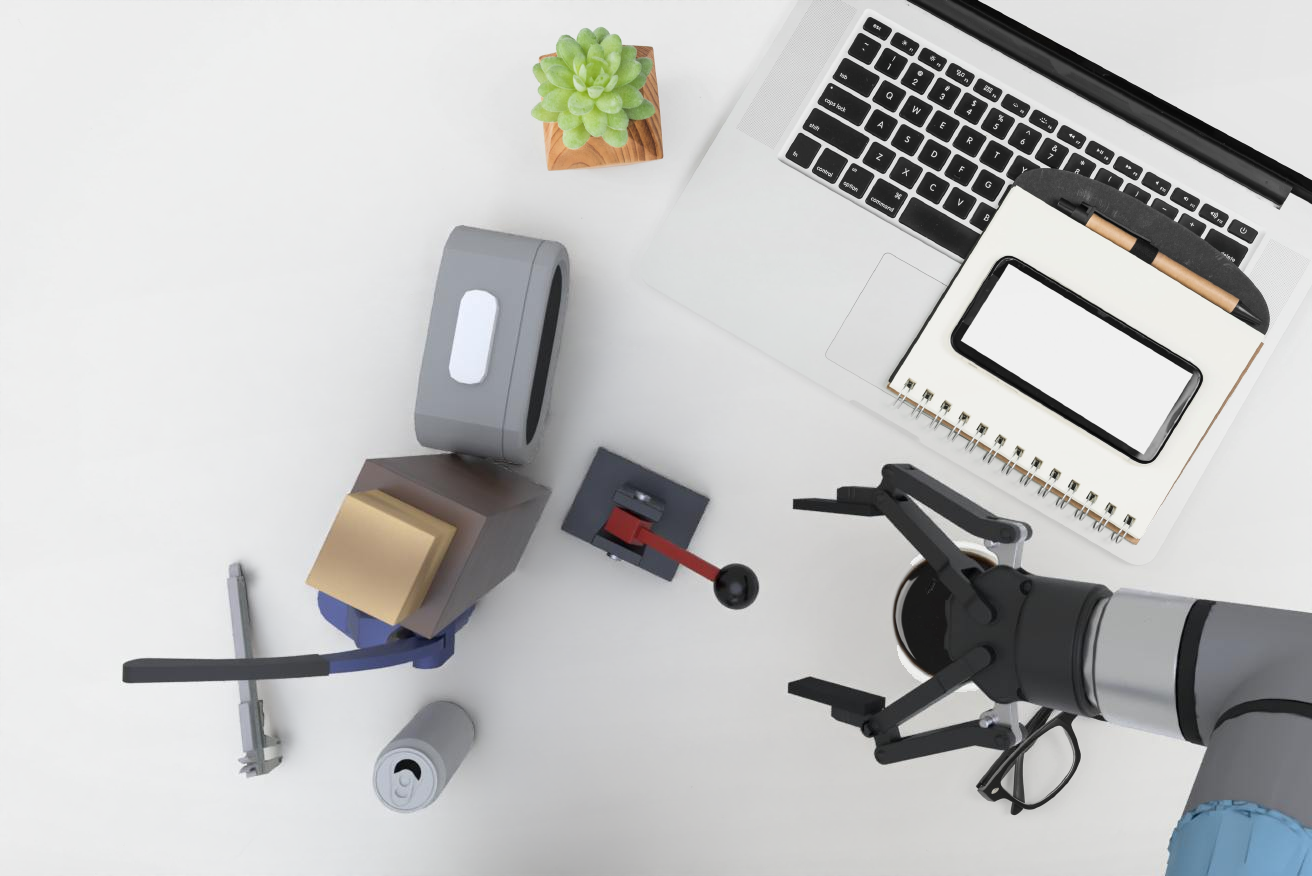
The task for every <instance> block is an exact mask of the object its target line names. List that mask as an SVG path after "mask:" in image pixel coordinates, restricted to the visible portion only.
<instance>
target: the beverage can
mask: <svg viewBox="0 0 1312 876" xmlns="http://www.w3.org/2000/svg"><path fill="white" fill-rule="evenodd" d="M474 738H475V730H474V724H473V722H472V720H471V718H470V716H469V715H468V713H466V712H465V710H463V709H462V707H460V706H459V705H456V704H454V703H451V702H447V701H437V702H432V703H430V704H428V705H425V706H424V707H423V708H421V709H420V710H419V711H417V713H416V714H415V715H414V716H413V717H412V718H411V719H410V721H408V722H407V723H406V725H405V726H404V727H403V728H402V729H401V730H400V731H399V732H398V733H397V734H396V736H394V738H393V739H392V740H391V741H390V742H389V743H388V744H387V745H386V746H385V747H384V748H383V749H382V750H381V752H380V753H379V755H378V756H377V758H376V760H375V764H374V768H373V773H372V786H373V791H374V793H375V796H376V798H377V799H378V800H379V802H380V803H381V804H382V805H383V806H384V807H385V808H387V809H389V810H390V811H393V812H395V813H399V814H412V813H416V812H419V811H421V810H423V809H425V808H428V807H430V806H432V804H434V803H435V802H436V801H437V799H438V798H439V797H440V796H441V794H442V793H443V791H444V790H445V788H446V787H447V786H448V784H449V782H450V781H451V780H452V778H453V777H454V775H455V773H456V772H457V770H458V768H459V767H460V765H461V764H463V761H464V760H465V759H466V757H467V755H468V754H469V752H470V750H471V748H472V746H473V743H474Z"/></svg>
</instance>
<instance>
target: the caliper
mask: <svg viewBox="0 0 1312 876" xmlns="http://www.w3.org/2000/svg"><path fill="white" fill-rule="evenodd" d="M228 576H229V577H228V578H227V577H226V581H227V582H226V585H227V594H228V602H229V611H230V620H231V621H230V622H231V631H232V639H233V648H234V657H235V658H234V659H241V658H254V651H253V643H252V634H251V625H250V615H249V606H248V598H247V590H246V580H245V576H243V575H242V569H241V564H240V562H237V563H233V564H230V565H228ZM237 684H238V692H239V702H240V703H238V705H237V707H238V716H239V726H240V736H241V746H242V752H243V753H245V756H244V757H240V758H237V761H238V763H241V764H242V765H243V766H242V767H241V768H240V770H239V771H238V774H239V775H240V774H244V773H245V776H246V779H249V778H253V777H258V776H259V777H260V776H263V775H267V774H269V773H270V772H272V771H274V769H276V768H278V766H279V765H281V764H282V762H283V756H278V757H272V758H270V759H266V755H265V749H267V748H272V747H276V746H277V745H280V744H281V740H280V739H279V738H277V737H274V736H270V735H268V734H265V730H264V727H265V712H264V701H263V699H259V694H258V686H257V680H239V681H237Z"/></svg>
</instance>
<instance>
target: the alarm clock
mask: <svg viewBox="0 0 1312 876" xmlns="http://www.w3.org/2000/svg"><path fill="white" fill-rule="evenodd" d="M570 277H571V263H570V256H569V252H568V250H567V248H566V246H565V245H564V244H563V243H562V242H559V241H554V240H546V239H544V238H538V237H531V236H525V235H520V234H514V233H509V232H503V231H497V230H492V229H485V228H481V227H474V226H470V225H463V224H460V225H457V226H455V227H454V228H453V229H452V231H451V232H450V233H449V235H448V237H447V240H446V242H445V245H444V247H443V250H442V255H441V259H440V263H439V268H438V273H437V278H436V282H435V288H434V294H433V297H432V298H433V299H432V304H431V310H430V314H429V315H430V316H429V321H428V327H427V332H426V336H425V337H426V338H425V342H424V347H423V348H424V349H423V354H422V359H421V365H420V370H419V371H420V372H419V376H418V382H417V390H416V397H415V403H414V404H415V405H414V412H413V418H414V419H413V421H414V433H415V437H416V440H417V442H418V443H419V445H420V446H421V447H423V448H427V449H432V450H437V451H443V452H449V453H458V454H464V455H469V456H475V457H480V458H486V459H488V460H490V461H498V462H501V463H502V462H503V463H507V464H508V463H509V464H513V465H518V466H525V465H526V464H529V463H530V462H531V461H532V460H533V459H534V458H535V456H536V453H537V451H538V448H539V446H540V443H541V439H542V436H543V433H544V429H545V425H546V424H545V423H546V418H547V414H548V411H549V404H550V399H551V393H552V389H553V383H554V377H555V371H556V366H557V362H558V361H557V360H558V355H559V349H560V344H561V339H562V333H563V326H564V323H565V315H566V310H567V305H568V297H569V290H570V280H571V279H570Z"/></svg>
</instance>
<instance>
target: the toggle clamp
mask: <svg viewBox="0 0 1312 876" xmlns="http://www.w3.org/2000/svg"><path fill="white" fill-rule="evenodd" d="M710 501H711V499H710V498H709V497H708V496H705V495H703V494H702V493H699V492H697V491H695V490H693V489H691V488H689V487H687V486H685V485H683V484H680V483H678V482H676V481H674V480H672V479H670V478H668V477H666V476H663V475H661V474H659V473H657V472H655V471H653V470H650V469H648V468H646V467H645V466H642V465H641V464H638V463H636V462H634V461H632V460H630V459H628V458H626V457H623V456H621V455H619V454H617V453H615V452H613V451H611V450H609V449H607V448H605V447H602V446H599V447H598V449H597V451H596V454H595V456H594V458H593V460H592V462H591V463H590V466H589V468H588V471H587V472H586V475H585V477H584V479H583V481H582V483H581V485H580V487H579V490H578V492H577V493H576V496H575V498H574V500H573V502H572V504H571V506H570V509H569V511H568V512H567V515H566V517H565V518H564V521H563V523H562V526H561V528H560V530H561V531H563V532H564V533H566V534H569V535H571V536H573V537H575V538H577V539H580V540H582V541H584V542H585V543H588V544H590V545H592V546H594V547H596V548H598V549H600V550H602V551H604V552H606V556H607V557H608V558H609V559H612V560H614V561H617V562H622V560H623V561H625V562H627V563H629V564H631V565H633V566H635V567H638V568H640V569H642V570H644V571H647V572H649V573H650V574H653V575H654V576H657V577H658V578H661V579H663V580H665V581H667V582H670V583H671V582H672V581H673V579H674V577H675V575H676V572H677V570H678V568H679V566H680V565H681V564H680V563H678V562H676V561H675V560H673V559H671V558H669V557H668V556H666V555H664V554H662V553H660V552H659V551H657V550H655V549H653V548H652V547H650V546H648V545H646V544H645V543H643V545H642V546H639V545H634V544H629V543H627V542H625V541H623V540H622V539H620V538H618V537H616V536H615V535H613V534H611V533H609V532H608V531H606V530H604V528H605V526H606V524H607V522H608V520H609V517H610V515H611V513H612V511H613V509H614V507H615V506H617V507H620V508H624V509H628V510H630V511H632V512H634V513H636V514H637V515H639V516H641V517H643V518H645V519H646V520H648V521H650V522H652V523H653V524H652V526H651V528H650V530H651V531H653V532H655V533H656V534H658V535H660V536H662V537H664V538H665V539H667V540H669V541H671V542H673V543H674V544H676V545H678V546H680V547H682V548H683V549H685V550H687V549H688V548H689V545H690V543H691V541H692V538H693V536H694V534H695V532H696V530H697V528H698V526H699V524H700V522H701V520H702V518H703V515H704V514H705V511H706V509H707V508H708V505H709V503H710Z"/></svg>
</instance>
